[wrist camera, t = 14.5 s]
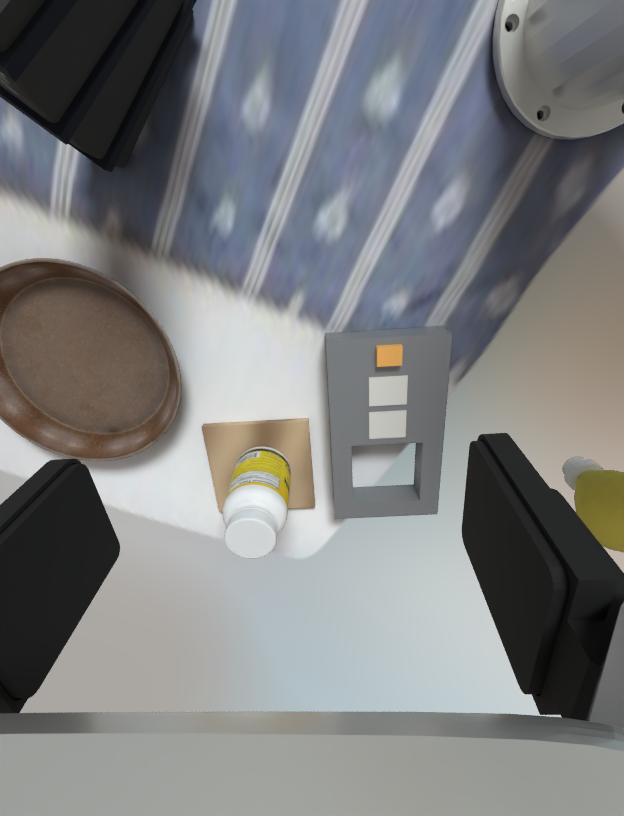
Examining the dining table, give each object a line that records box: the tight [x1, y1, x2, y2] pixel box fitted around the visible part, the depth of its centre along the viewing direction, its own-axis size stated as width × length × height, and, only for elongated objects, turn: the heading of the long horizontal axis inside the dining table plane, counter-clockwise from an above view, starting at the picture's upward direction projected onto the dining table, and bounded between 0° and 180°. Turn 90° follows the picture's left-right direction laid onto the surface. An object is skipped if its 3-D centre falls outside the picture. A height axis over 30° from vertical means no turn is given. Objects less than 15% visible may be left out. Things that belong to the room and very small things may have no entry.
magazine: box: [0, 0, 196, 172], centre depth 22 cm, size 4×13×15 cm, turn 144°
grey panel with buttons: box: [325, 326, 452, 519], centre depth 37 cm, size 10×18×3 cm, turn 4°
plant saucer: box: [0, 258, 181, 461], centre depth 34 cm, size 18×18×3 cm
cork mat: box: [202, 418, 315, 512], centre depth 40 cm, size 10×10×1 cm
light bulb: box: [562, 457, 624, 552], centre depth 35 cm, size 7×7×10 cm
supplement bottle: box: [223, 446, 291, 559], centre depth 35 cm, size 5×5×10 cm
